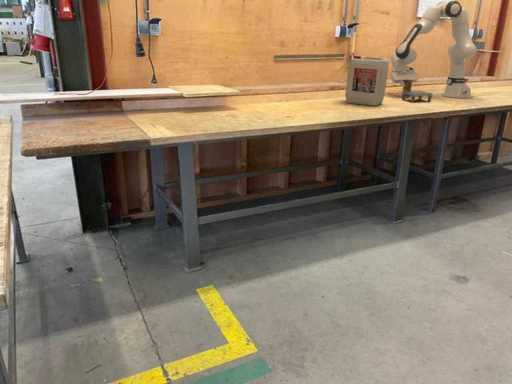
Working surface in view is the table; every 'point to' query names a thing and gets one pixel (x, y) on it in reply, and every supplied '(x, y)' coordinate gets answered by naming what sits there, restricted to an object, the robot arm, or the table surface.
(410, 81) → the walnut post
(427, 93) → the step stool
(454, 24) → the robot arm
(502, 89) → the table surface
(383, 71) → the jerry can
